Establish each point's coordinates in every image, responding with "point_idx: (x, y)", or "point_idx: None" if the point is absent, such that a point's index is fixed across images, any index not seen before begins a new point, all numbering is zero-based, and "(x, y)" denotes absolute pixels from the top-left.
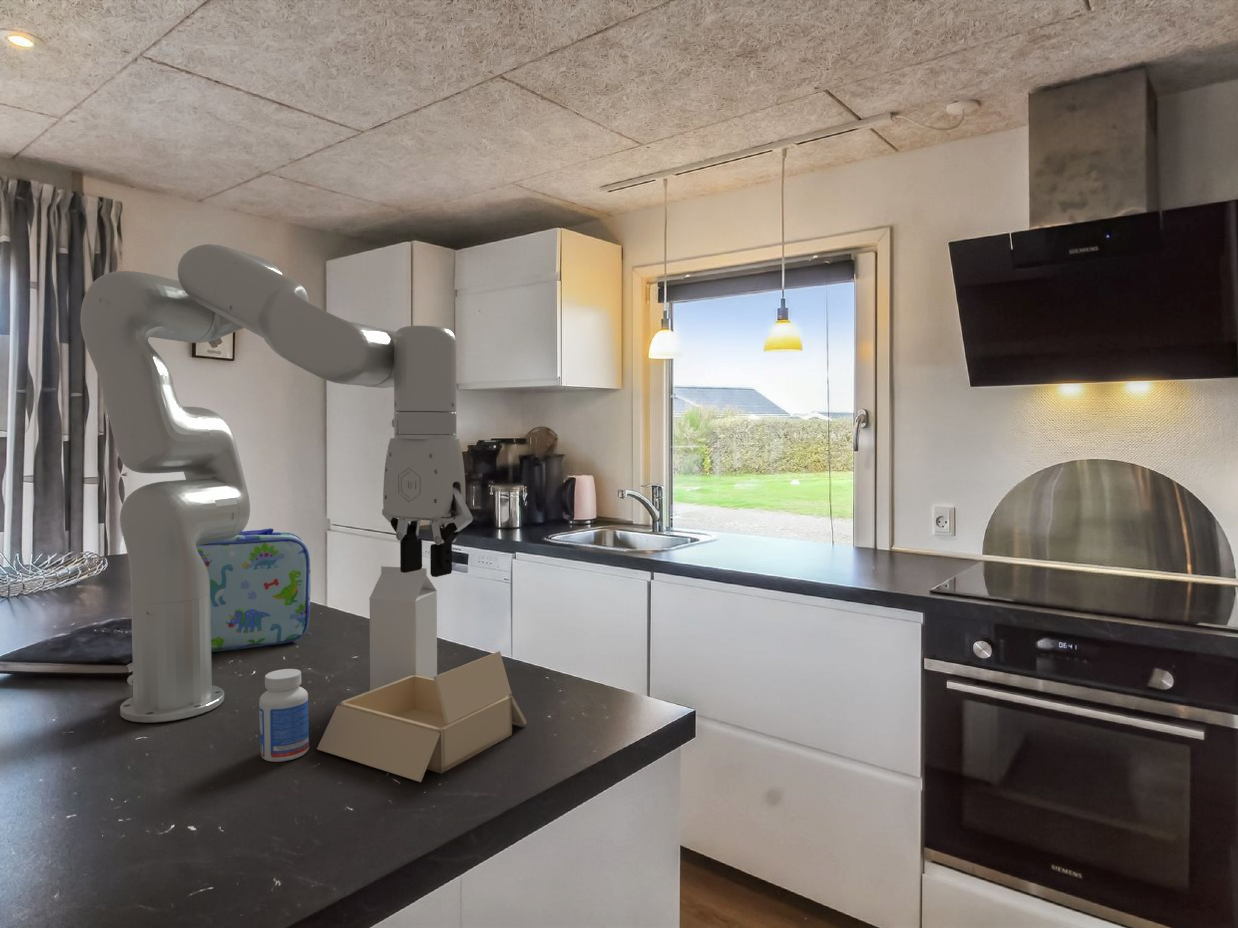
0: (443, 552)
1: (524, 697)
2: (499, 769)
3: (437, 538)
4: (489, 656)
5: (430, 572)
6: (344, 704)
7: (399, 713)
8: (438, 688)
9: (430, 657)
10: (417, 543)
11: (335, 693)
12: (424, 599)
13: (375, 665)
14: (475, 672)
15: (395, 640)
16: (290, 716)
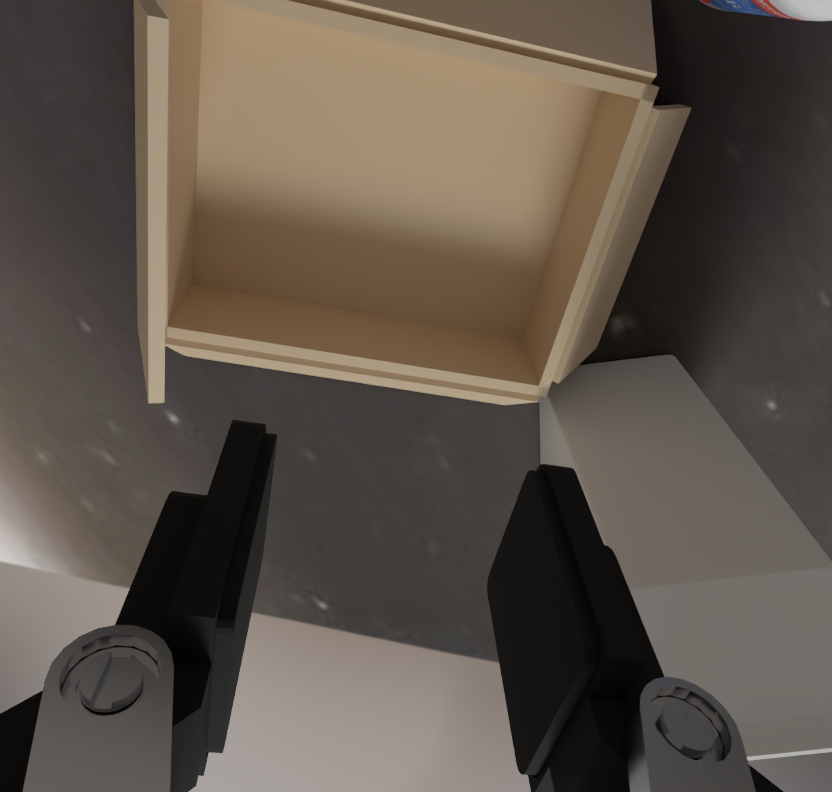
0: (129, 591)
1: (302, 495)
2: (63, 64)
3: (115, 691)
4: (147, 345)
5: (272, 440)
6: (632, 83)
7: (538, 288)
8: (149, 8)
9: None
10: (531, 725)
11: (795, 371)
12: None
13: (696, 410)
14: (144, 237)
15: (656, 471)
16: None
